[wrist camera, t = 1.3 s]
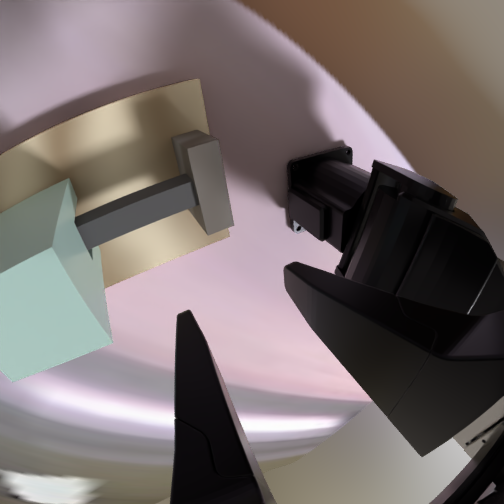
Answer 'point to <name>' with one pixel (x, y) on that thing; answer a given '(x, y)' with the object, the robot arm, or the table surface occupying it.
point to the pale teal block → (48, 286)
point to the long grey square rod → (136, 210)
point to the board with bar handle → (131, 172)
